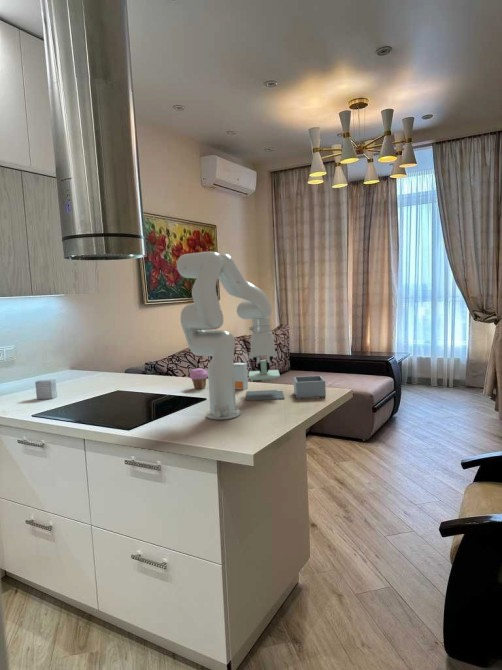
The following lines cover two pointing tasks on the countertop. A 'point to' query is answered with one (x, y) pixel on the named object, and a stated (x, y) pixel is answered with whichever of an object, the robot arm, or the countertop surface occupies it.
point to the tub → (309, 387)
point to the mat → (264, 395)
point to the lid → (264, 373)
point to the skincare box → (240, 375)
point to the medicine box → (46, 389)
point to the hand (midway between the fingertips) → (263, 371)
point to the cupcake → (199, 378)
